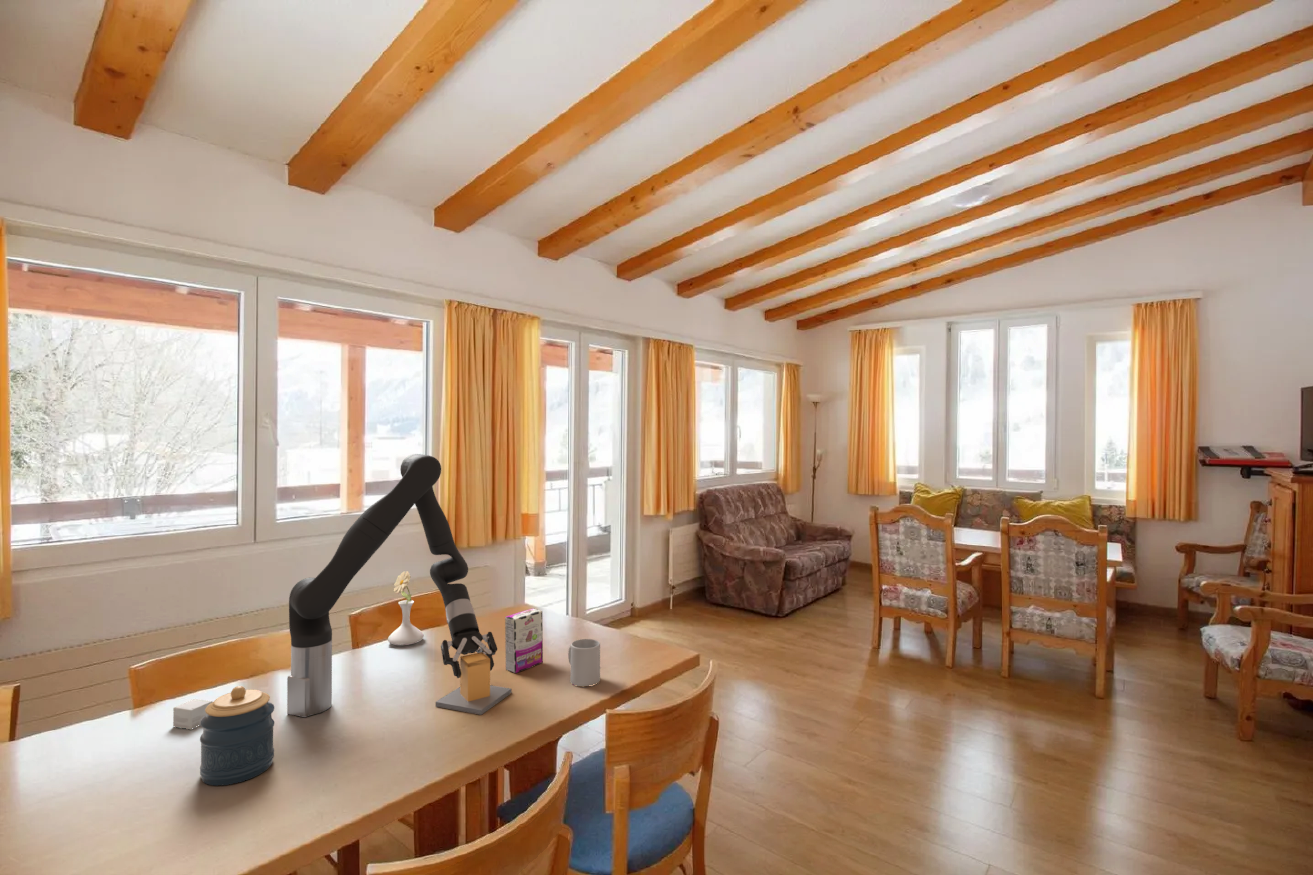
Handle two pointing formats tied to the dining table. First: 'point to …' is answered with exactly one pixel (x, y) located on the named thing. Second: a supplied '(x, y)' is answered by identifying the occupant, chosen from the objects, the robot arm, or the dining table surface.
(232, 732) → the canister
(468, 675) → the upright tan block
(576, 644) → the mug
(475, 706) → the peg plate
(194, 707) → the small box
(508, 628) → the candy bar box
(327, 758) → the dining table surface
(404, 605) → the flower in vase
